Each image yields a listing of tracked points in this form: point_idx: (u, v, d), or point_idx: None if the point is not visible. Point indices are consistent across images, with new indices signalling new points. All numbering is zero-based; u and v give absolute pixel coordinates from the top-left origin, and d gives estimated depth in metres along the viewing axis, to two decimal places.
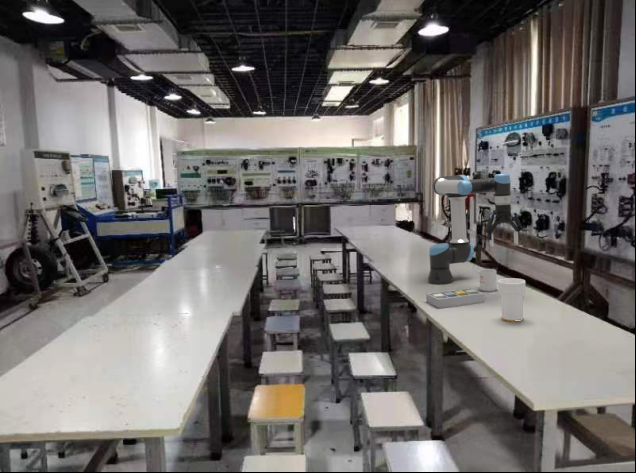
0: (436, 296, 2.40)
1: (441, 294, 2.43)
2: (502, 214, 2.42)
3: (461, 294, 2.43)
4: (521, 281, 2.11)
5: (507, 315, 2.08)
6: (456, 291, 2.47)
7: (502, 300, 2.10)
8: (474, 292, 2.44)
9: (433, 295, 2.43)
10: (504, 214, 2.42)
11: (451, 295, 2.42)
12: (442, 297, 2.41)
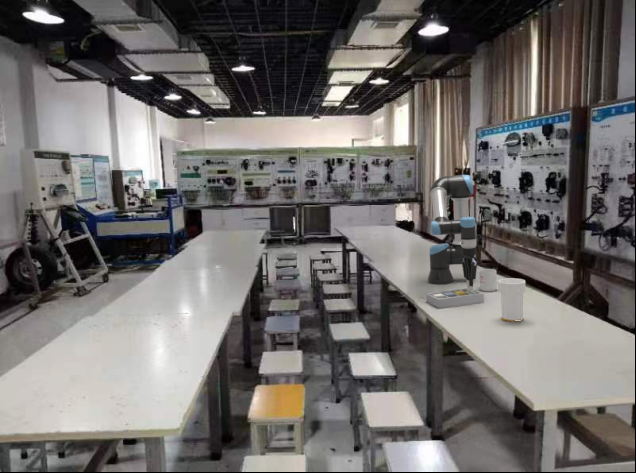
0: (436, 296, 2.40)
1: (441, 294, 2.43)
2: None
3: (461, 294, 2.43)
4: (521, 281, 2.11)
5: (507, 315, 2.08)
6: (456, 291, 2.47)
7: (502, 300, 2.10)
8: (474, 293, 2.45)
9: (433, 295, 2.43)
10: (467, 257, 2.44)
11: (451, 295, 2.42)
12: (442, 297, 2.41)
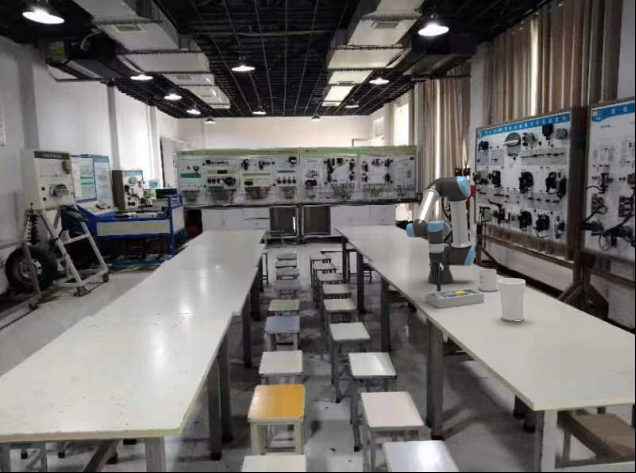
0: None
1: (441, 296, 2.43)
2: None
3: (461, 294, 2.43)
4: (521, 281, 2.11)
5: (507, 315, 2.08)
6: (456, 291, 2.47)
7: (502, 300, 2.10)
8: None
9: None
10: (434, 261, 2.40)
11: (451, 295, 2.42)
12: None
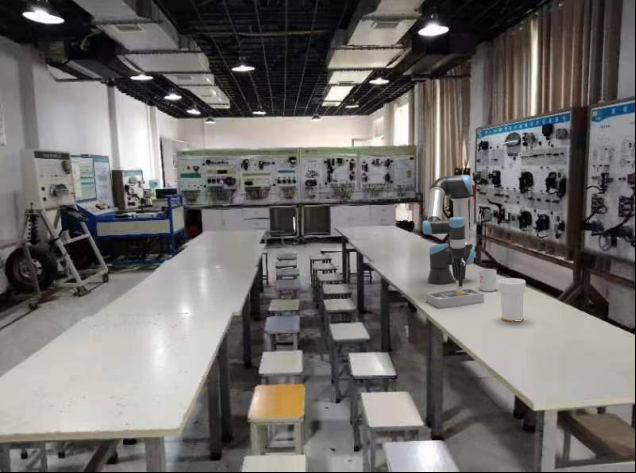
0: None
1: None
2: None
3: (461, 294, 2.43)
4: (521, 281, 2.11)
5: (507, 315, 2.08)
6: None
7: (502, 300, 2.10)
8: None
9: None
10: (456, 257, 2.43)
11: (451, 295, 2.42)
12: None
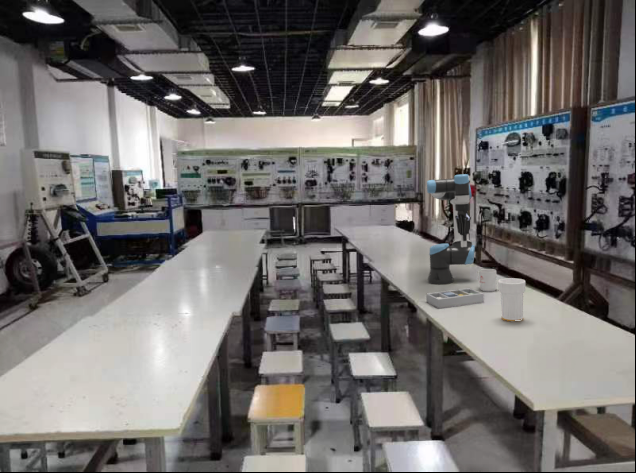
0: None
1: None
2: (459, 210, 2.55)
3: None
4: (521, 281, 2.11)
5: (507, 315, 2.08)
6: None
7: (502, 300, 2.10)
8: None
9: None
10: (460, 213, 2.54)
11: (451, 295, 2.42)
12: None
